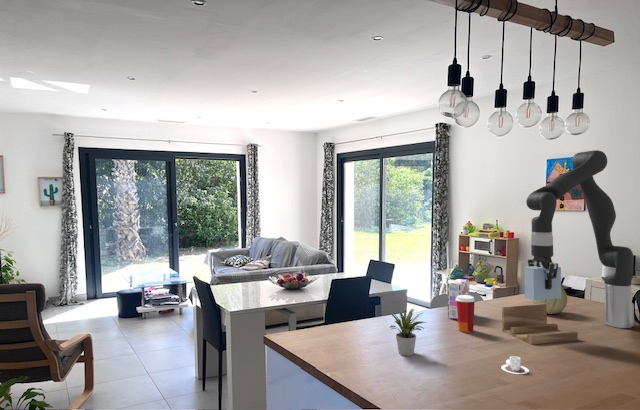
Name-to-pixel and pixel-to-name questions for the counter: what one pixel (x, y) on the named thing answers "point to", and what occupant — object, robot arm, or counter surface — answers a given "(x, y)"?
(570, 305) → the counter surface
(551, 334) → the track
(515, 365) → the teacup and saucer
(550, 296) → the panel
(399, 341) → the house plant
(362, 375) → the counter surface
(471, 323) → the paper cup
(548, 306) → the cantaloupe
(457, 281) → the candy box
